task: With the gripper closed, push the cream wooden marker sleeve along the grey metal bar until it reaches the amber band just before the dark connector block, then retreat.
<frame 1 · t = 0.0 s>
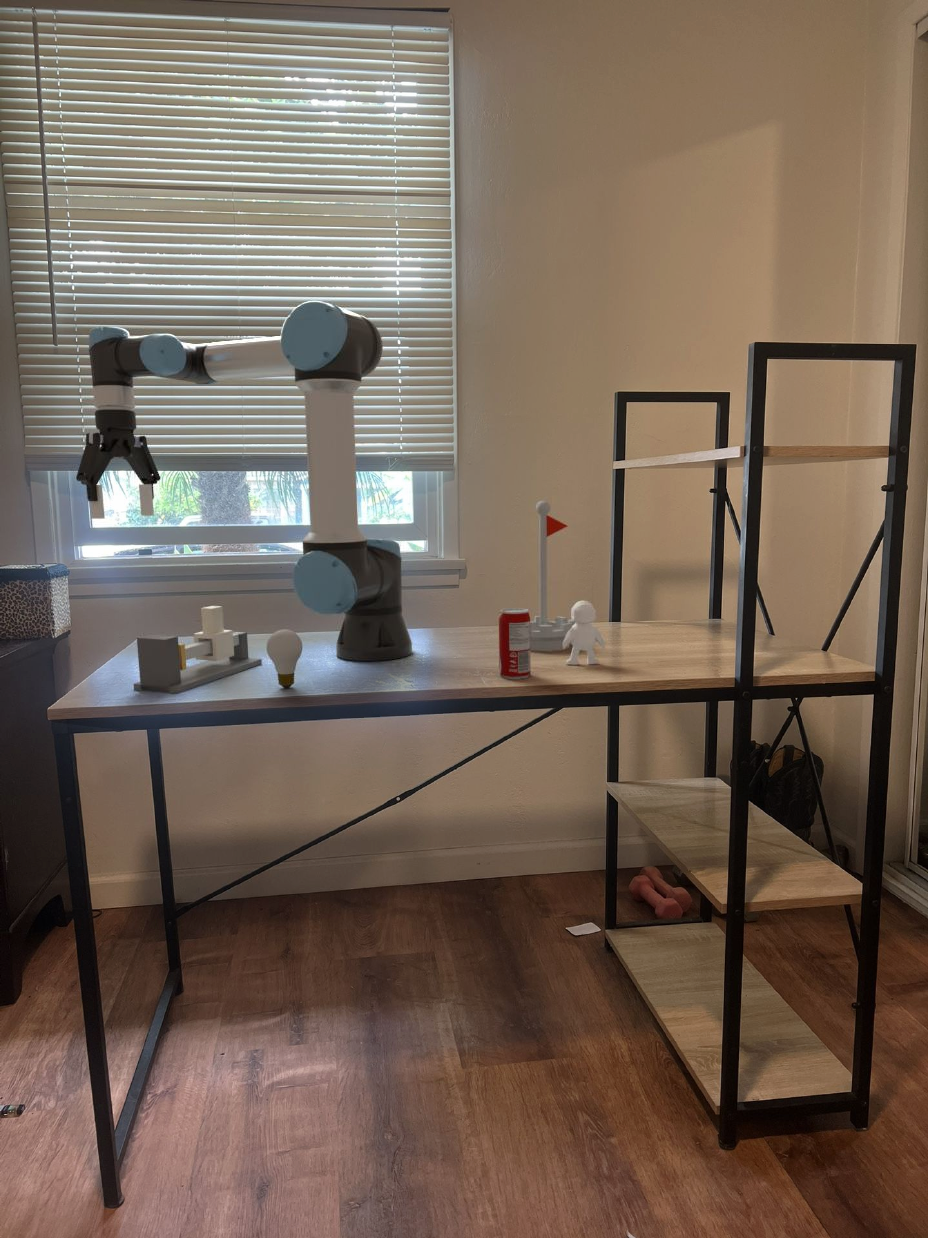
hand: (123, 517, 170), 28 cm above the table, fingers open, 13 cm apart
flag stand: (543, 647, 174), on the table
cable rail: (201, 675, 151), on the table
light bulb: (286, 689, 141), on the table
soda can: (515, 677, 147), on the table
sleeve: (213, 632, 154), point 7 cm above the table, slide at 0.0 cm
figurine: (582, 665, 156), on the table
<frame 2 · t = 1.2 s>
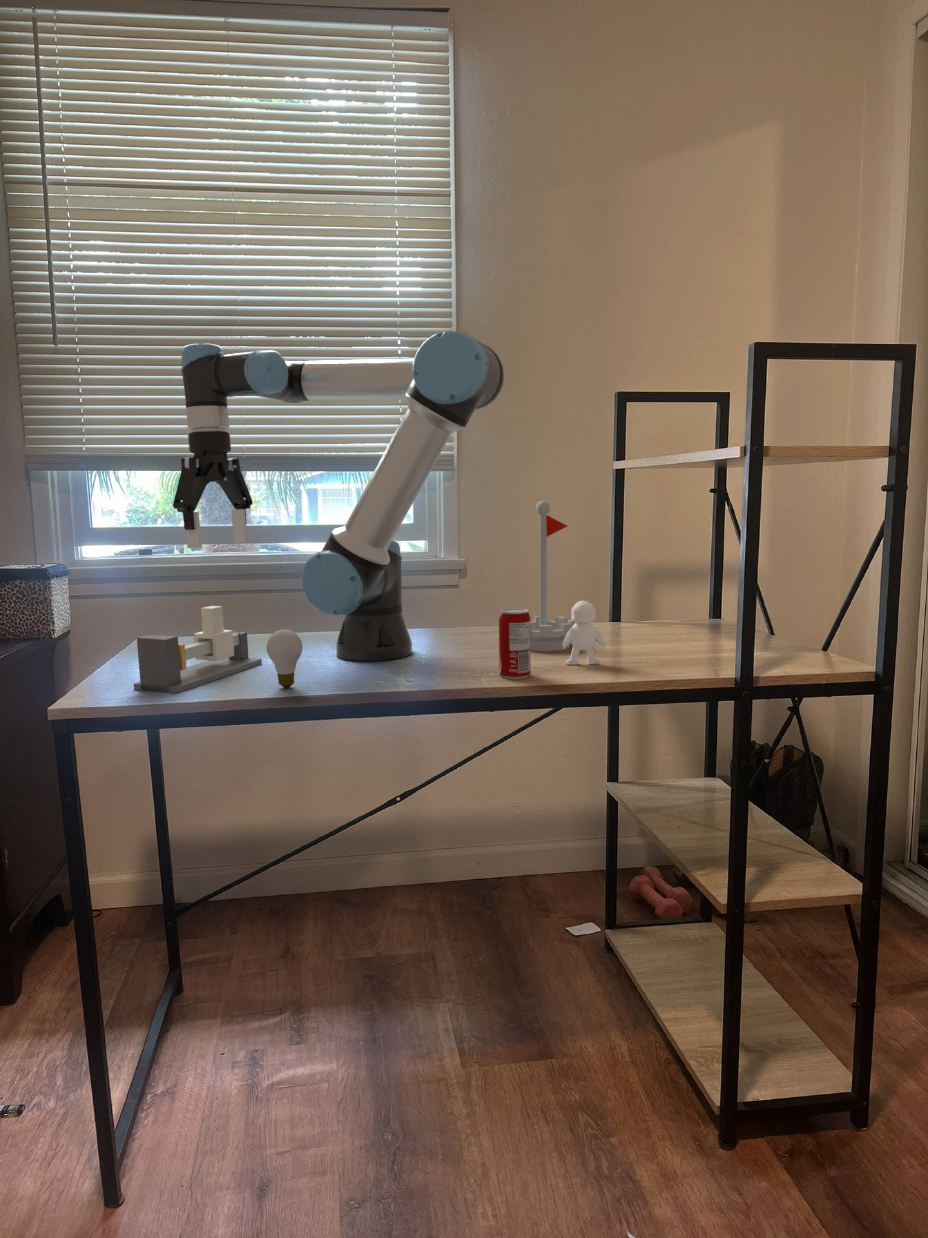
hand: (218, 545, 159), 23 cm above the table, fingers open, 13 cm apart
nothing on the table moved.
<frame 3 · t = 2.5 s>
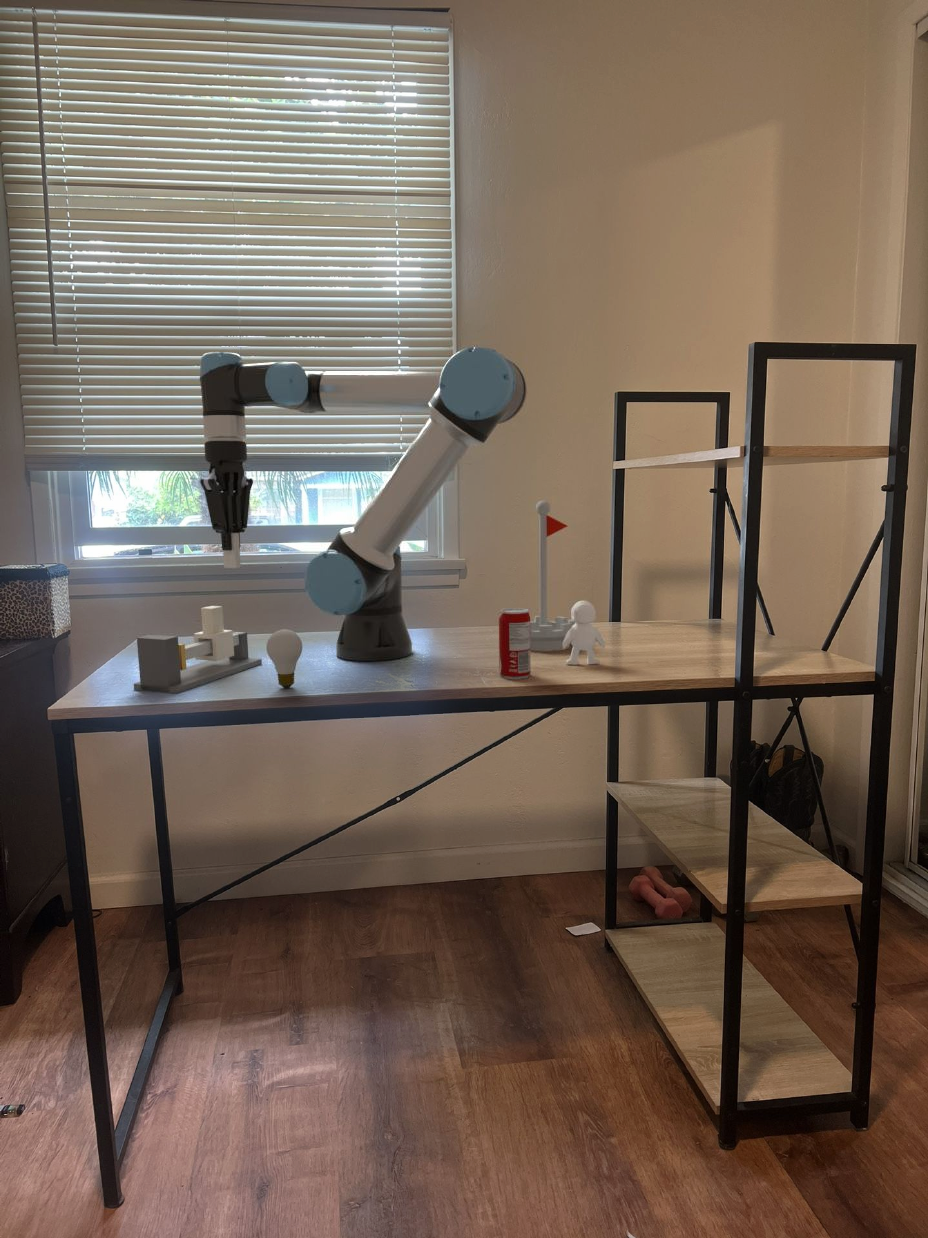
hand: (232, 567, 159), 19 cm above the table, fingers closed
nothing on the table moved.
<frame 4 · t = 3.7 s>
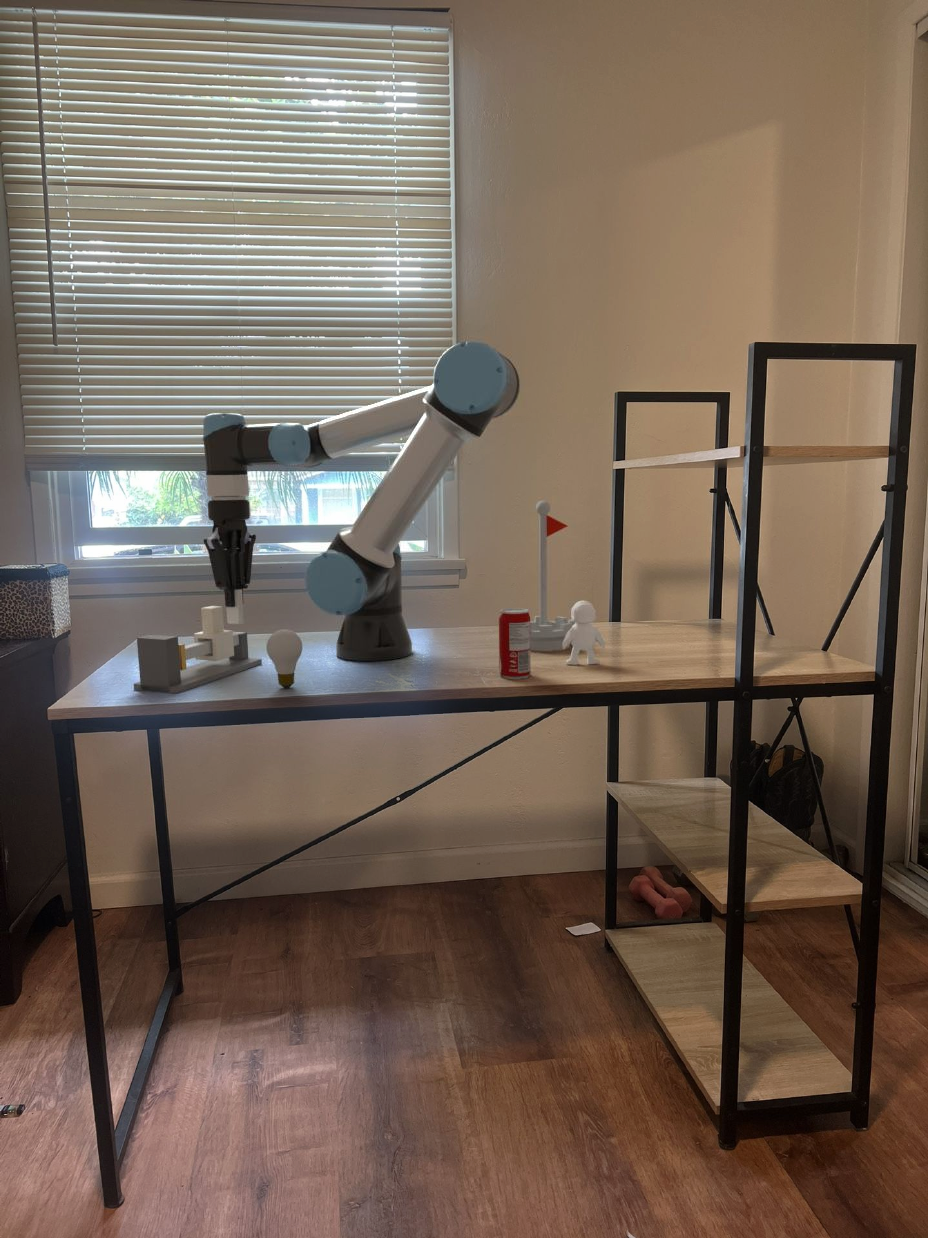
hand: (235, 623, 160), 8 cm above the table, fingers closed
nothing on the table moved.
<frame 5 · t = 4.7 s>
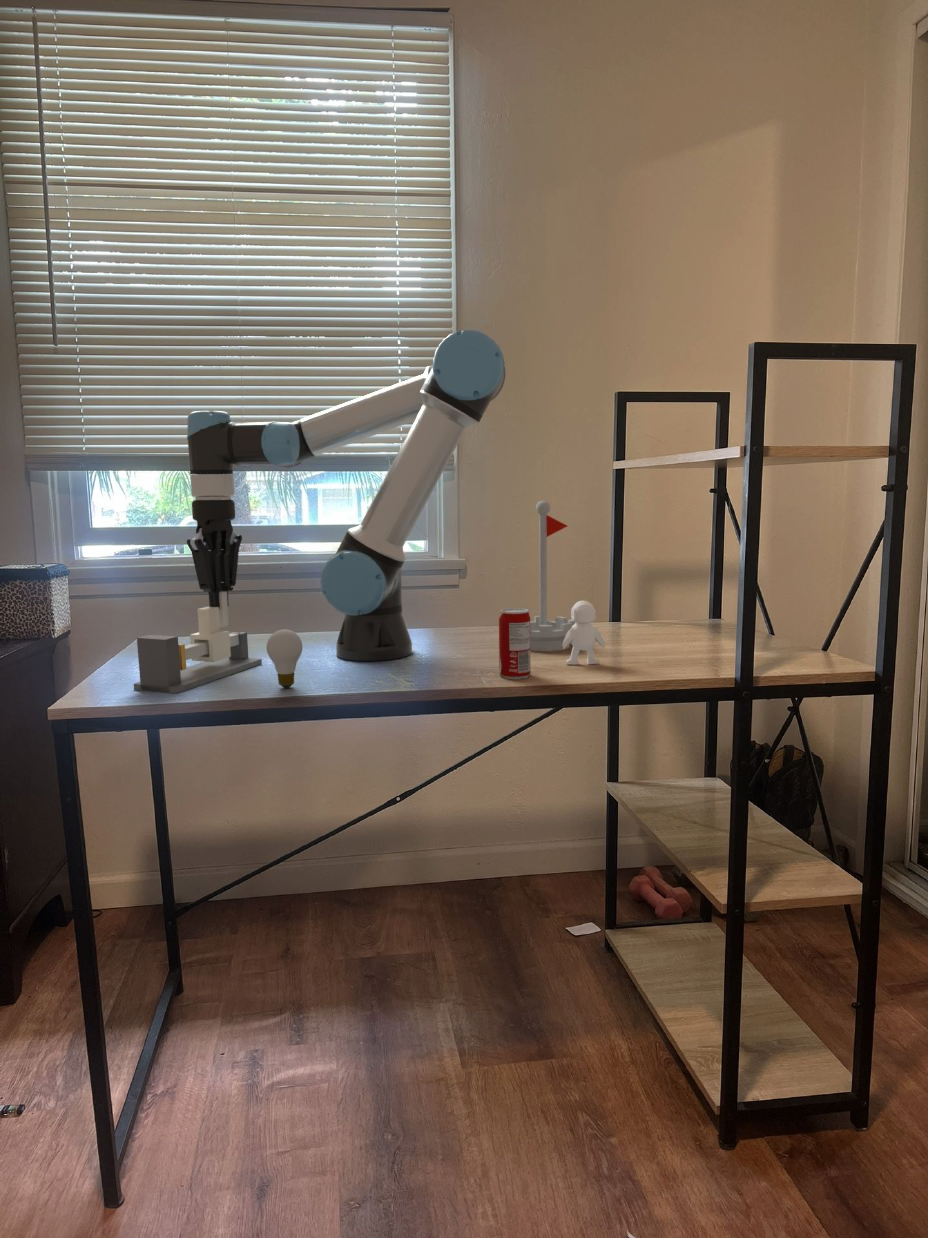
hand: (220, 626, 156), 8 cm above the table, fingers closed
sleeve: (209, 633, 153), point 7 cm above the table, slide at 1.0 cm, touching gripper
everything else where it was.
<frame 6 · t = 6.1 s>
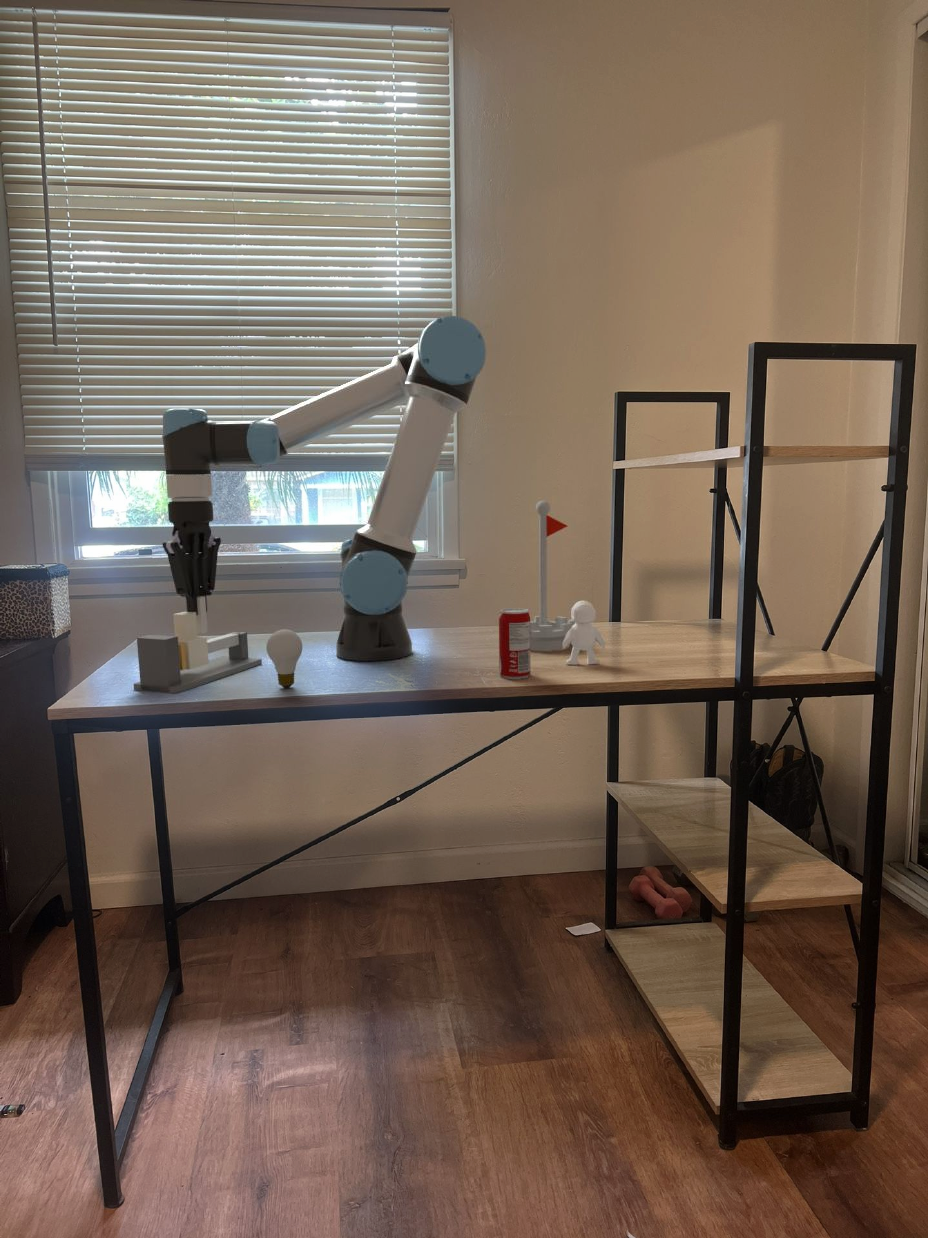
hand: (198, 632, 150), 8 cm above the table, fingers closed
sleeve: (186, 639, 147), point 7 cm above the table, slide at 7.4 cm, touching gripper
everything else where it was.
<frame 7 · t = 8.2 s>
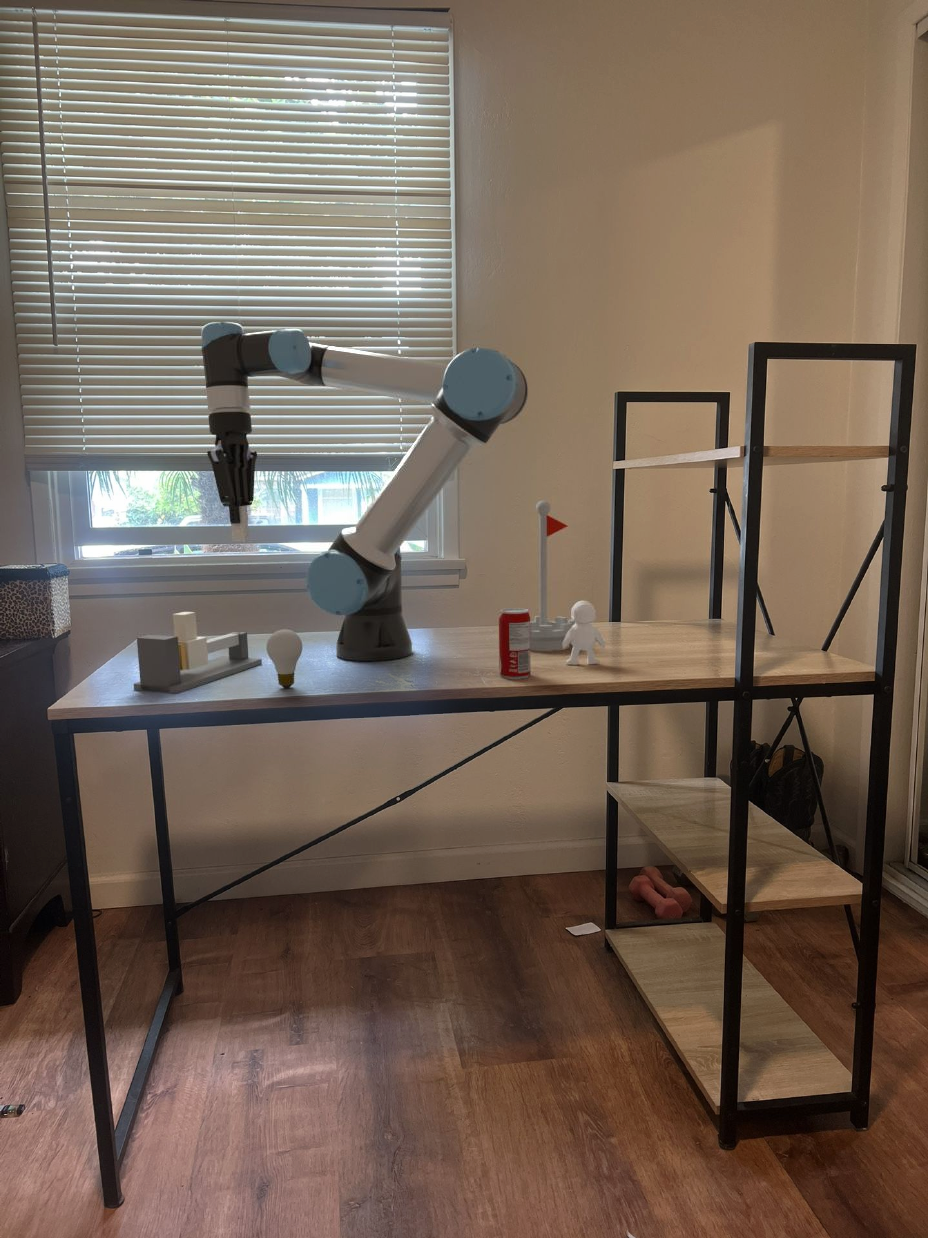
hand: (240, 541, 157), 24 cm above the table, fingers closed
sleeve: (186, 639, 147), point 7 cm above the table, slide at 7.5 cm
everything else where it was.
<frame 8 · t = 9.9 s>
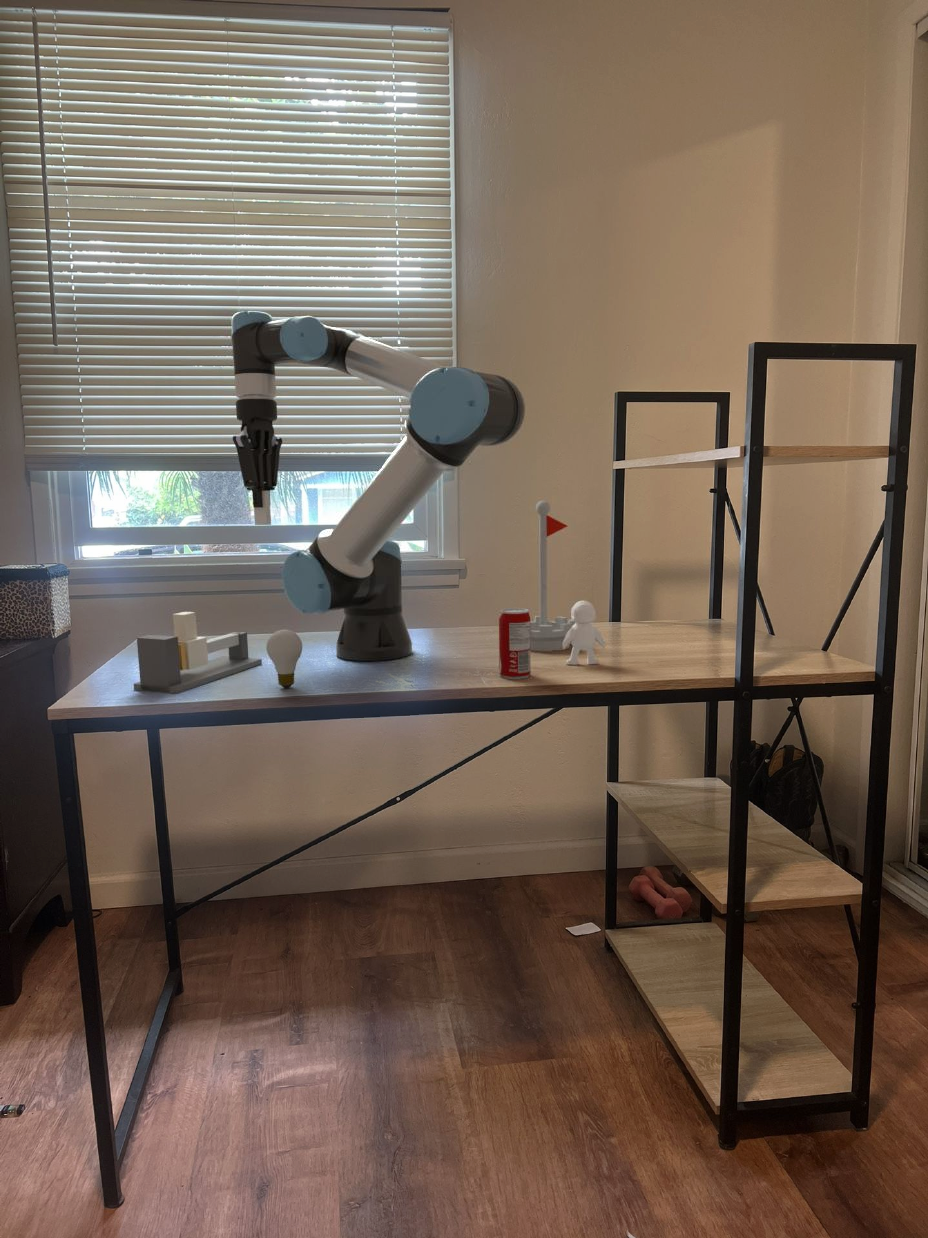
hand: (262, 524, 162), 26 cm above the table, fingers closed
nothing on the table moved.
at the end: sleeve slide at 7.5 cm; sleeve touching nothing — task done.
